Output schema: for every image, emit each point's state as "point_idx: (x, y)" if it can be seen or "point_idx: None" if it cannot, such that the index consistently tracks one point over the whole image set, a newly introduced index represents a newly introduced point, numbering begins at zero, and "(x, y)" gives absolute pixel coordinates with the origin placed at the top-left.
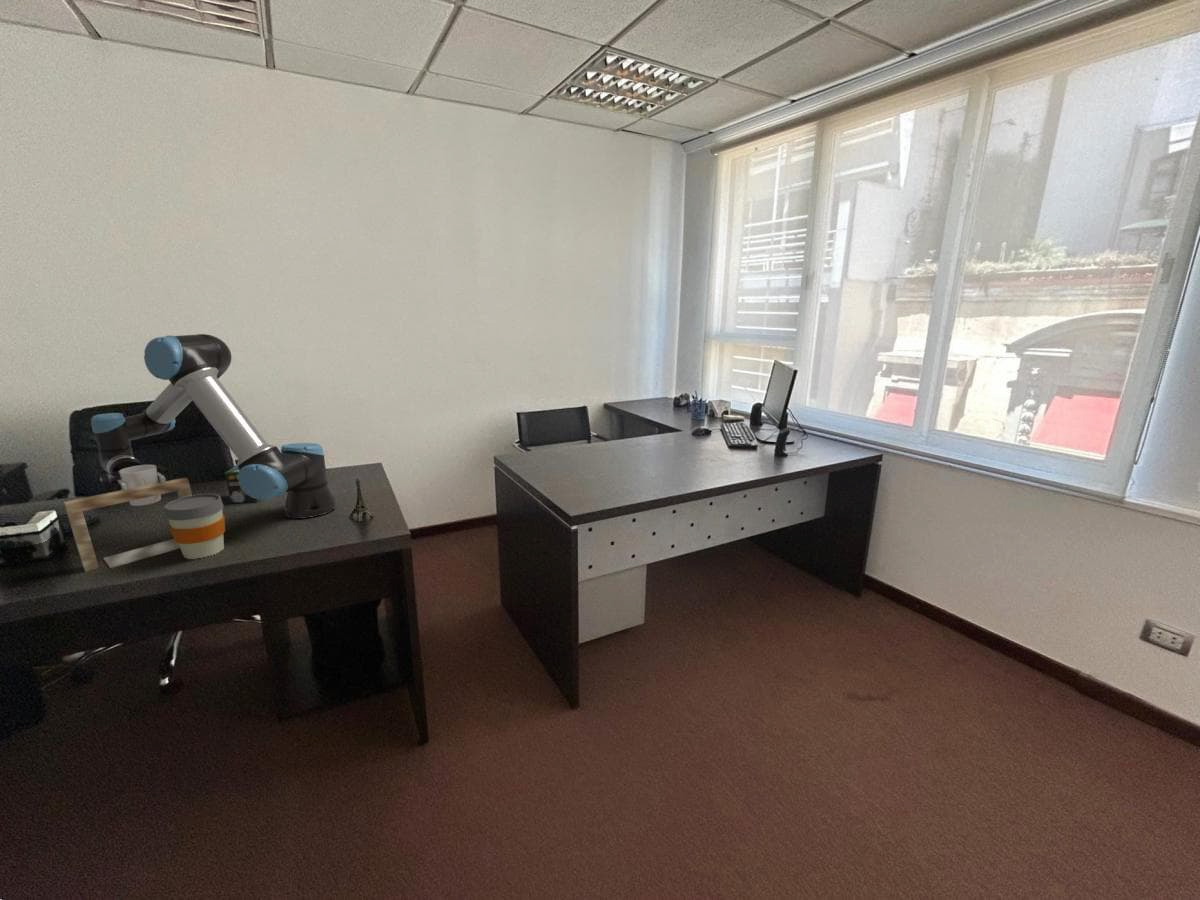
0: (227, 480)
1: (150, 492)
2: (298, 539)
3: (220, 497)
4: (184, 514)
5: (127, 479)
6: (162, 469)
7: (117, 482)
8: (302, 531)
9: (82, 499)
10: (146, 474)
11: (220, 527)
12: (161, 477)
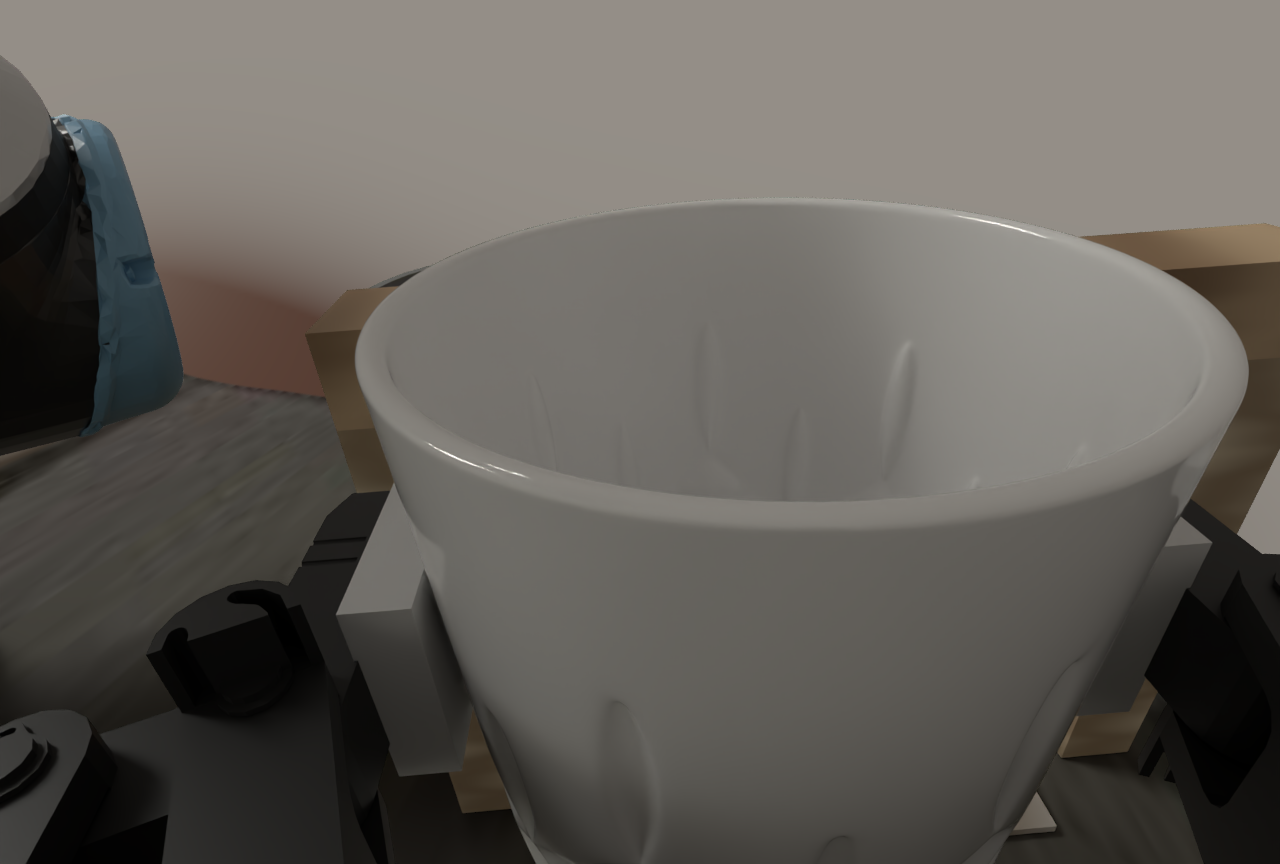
0: None
1: None
2: (257, 473)
3: (368, 288)
4: None
5: (916, 336)
6: (191, 608)
7: (1200, 586)
8: (171, 521)
9: (1200, 250)
10: (647, 279)
11: None
12: None
